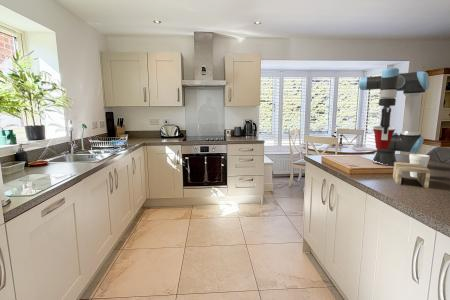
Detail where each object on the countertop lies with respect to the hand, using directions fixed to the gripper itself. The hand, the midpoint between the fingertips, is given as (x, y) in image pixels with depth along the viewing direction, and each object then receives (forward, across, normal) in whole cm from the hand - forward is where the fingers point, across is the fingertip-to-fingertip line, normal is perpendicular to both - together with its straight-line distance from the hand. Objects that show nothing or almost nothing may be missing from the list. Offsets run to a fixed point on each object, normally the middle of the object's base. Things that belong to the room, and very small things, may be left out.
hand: (383, 139), depth 136 cm
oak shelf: (+23, -3, +14) cm, 27 cm away
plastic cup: (+6, 0, 0) cm, 6 cm away
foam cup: (+23, -20, +21) cm, 37 cm away
